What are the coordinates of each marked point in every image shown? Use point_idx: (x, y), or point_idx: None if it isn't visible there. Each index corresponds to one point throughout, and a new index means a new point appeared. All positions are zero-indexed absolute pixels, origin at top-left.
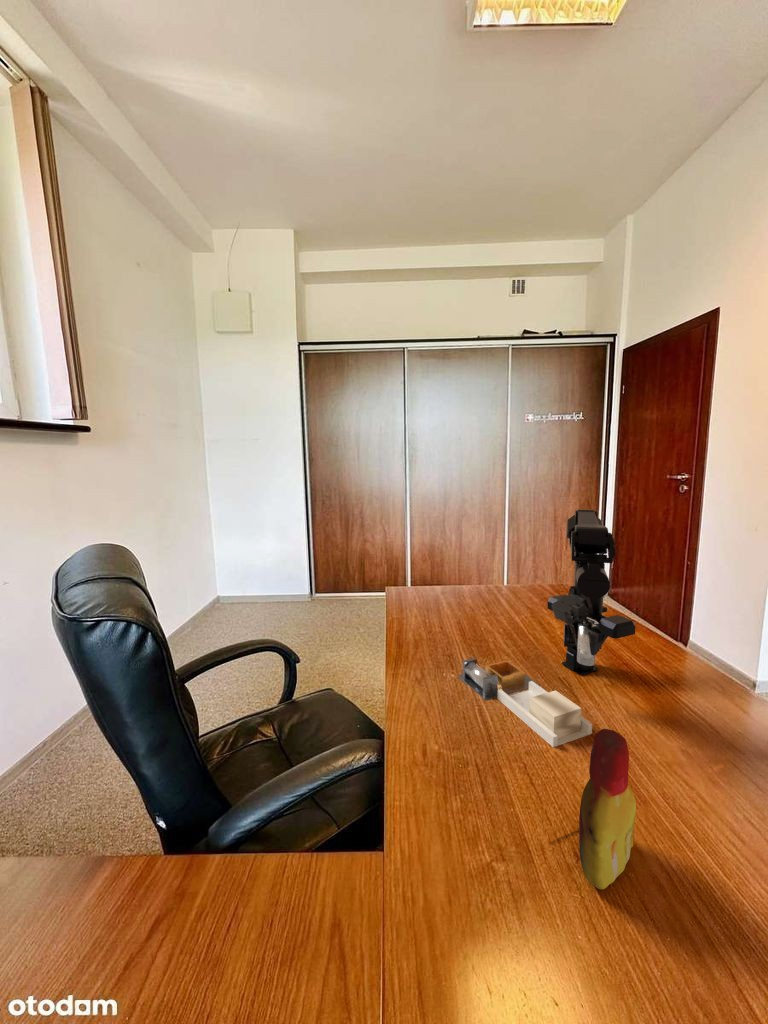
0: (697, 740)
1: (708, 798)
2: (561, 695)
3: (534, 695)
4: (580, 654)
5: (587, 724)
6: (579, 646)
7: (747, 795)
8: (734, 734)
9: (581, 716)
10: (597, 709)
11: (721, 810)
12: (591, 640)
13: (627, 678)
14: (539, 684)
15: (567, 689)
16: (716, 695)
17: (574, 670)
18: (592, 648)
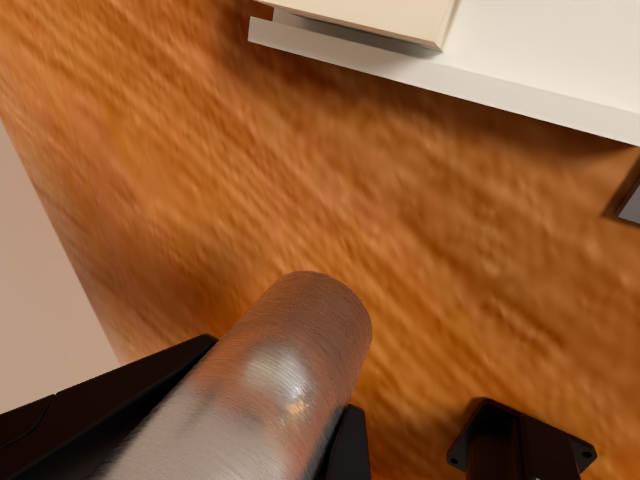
0: (140, 260)
1: (28, 59)
2: (378, 20)
3: (604, 97)
4: (295, 317)
5: (256, 18)
6: (276, 374)
7: (23, 141)
8: (127, 328)
9: (299, 53)
10: (338, 221)
11: (3, 42)
12: (63, 431)
13: None
14: (623, 216)
15: (485, 276)
16: None
17: (518, 416)
18: (147, 365)
